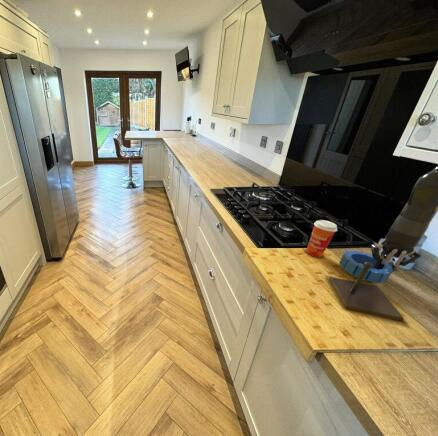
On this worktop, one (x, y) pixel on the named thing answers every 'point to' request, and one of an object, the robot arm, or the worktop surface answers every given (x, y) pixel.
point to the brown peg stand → (364, 296)
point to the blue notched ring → (352, 266)
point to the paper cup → (320, 237)
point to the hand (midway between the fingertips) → (382, 271)
